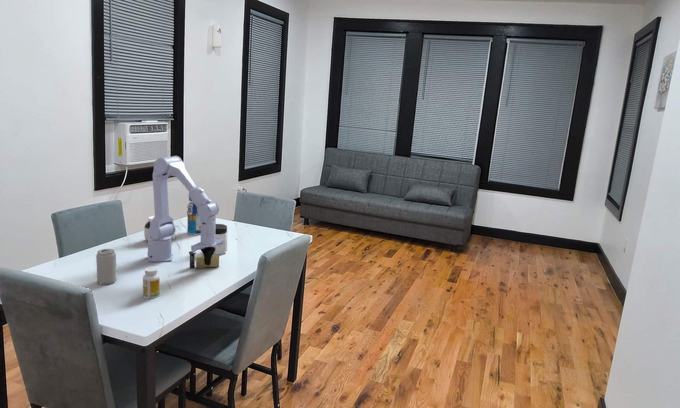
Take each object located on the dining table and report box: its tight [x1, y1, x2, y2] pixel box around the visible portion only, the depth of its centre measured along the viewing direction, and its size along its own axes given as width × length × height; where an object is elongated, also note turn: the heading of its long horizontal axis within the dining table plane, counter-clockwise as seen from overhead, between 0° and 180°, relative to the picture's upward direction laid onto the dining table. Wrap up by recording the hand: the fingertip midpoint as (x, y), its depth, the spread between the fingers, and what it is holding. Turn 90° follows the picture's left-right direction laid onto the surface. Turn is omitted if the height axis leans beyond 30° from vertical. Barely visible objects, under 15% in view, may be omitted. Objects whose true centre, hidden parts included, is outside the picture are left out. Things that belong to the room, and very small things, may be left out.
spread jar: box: [143, 215, 176, 242], centre depth 226 cm, size 12×11×12 cm
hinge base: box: [188, 250, 196, 269], centre depth 198 cm, size 12×3×7 cm, turn 107°
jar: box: [213, 223, 228, 256], centre depth 217 cm, size 9×8×12 cm
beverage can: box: [95, 248, 117, 285], centre depth 176 cm, size 6×6×12 cm
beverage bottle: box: [186, 196, 201, 236], centre depth 241 cm, size 8×8×20 cm
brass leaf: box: [195, 255, 220, 269], centre depth 198 cm, size 9×1×5 cm, turn 112°
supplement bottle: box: [142, 266, 161, 299], centre depth 168 cm, size 5×5×10 cm
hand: (207, 264), depth 196 cm, fingers closed, pressing on brass leaf
